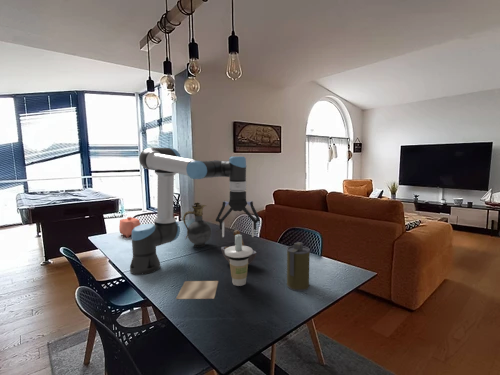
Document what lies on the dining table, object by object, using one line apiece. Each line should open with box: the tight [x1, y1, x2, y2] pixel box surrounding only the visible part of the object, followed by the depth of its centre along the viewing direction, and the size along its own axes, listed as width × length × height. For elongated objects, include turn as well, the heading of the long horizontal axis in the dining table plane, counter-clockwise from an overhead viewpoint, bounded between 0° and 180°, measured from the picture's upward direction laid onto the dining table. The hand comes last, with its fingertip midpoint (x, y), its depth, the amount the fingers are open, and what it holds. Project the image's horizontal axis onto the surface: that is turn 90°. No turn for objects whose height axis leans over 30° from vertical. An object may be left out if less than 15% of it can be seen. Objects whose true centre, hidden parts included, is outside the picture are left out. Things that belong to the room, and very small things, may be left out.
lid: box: [225, 233, 254, 258], centre depth 122 cm, size 13×13×8 cm
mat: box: [175, 280, 219, 300], centre depth 118 cm, size 16×16×1 cm
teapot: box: [119, 216, 141, 238], centre depth 206 cm, size 22×13×14 cm, turn 46°
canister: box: [286, 241, 311, 292], centre depth 120 cm, size 11×10×20 cm
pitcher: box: [182, 202, 212, 248], centre depth 176 cm, size 11×19×30 cm, turn 131°
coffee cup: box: [228, 256, 249, 287], centre depth 123 cm, size 10×10×15 cm
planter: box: [220, 229, 257, 265], centre depth 145 cm, size 15×17×20 cm
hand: (238, 236), depth 122 cm, fingers open, 13 cm apart
